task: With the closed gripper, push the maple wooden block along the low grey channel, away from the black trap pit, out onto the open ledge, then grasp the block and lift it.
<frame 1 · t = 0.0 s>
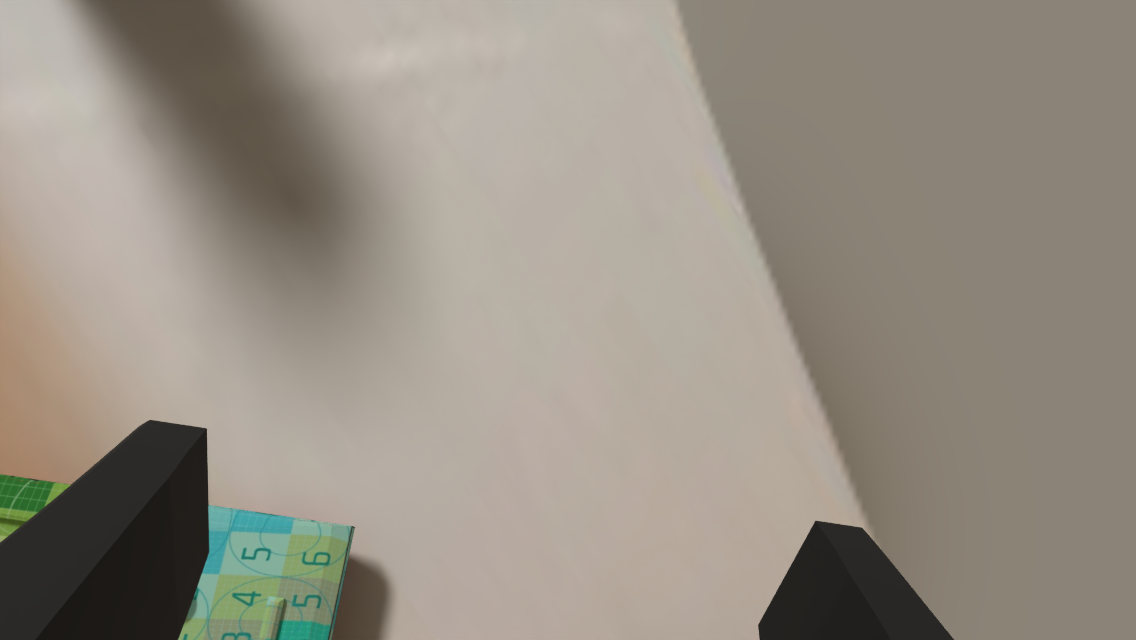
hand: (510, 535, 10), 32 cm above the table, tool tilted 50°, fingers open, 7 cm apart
puzzle game: (109, 627, 38), on the table
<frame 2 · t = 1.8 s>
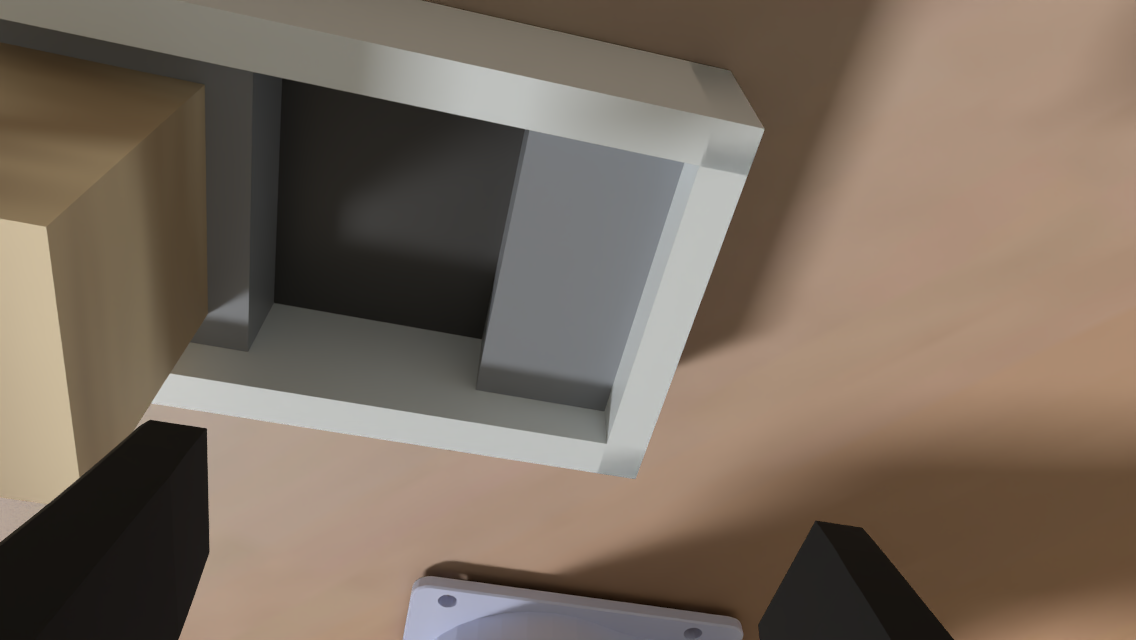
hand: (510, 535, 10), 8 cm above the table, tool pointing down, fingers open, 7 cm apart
trap channel: (121, 140, 16), on the table
maple block: (71, 183, 14), point 2 cm above the table, touching trap channel
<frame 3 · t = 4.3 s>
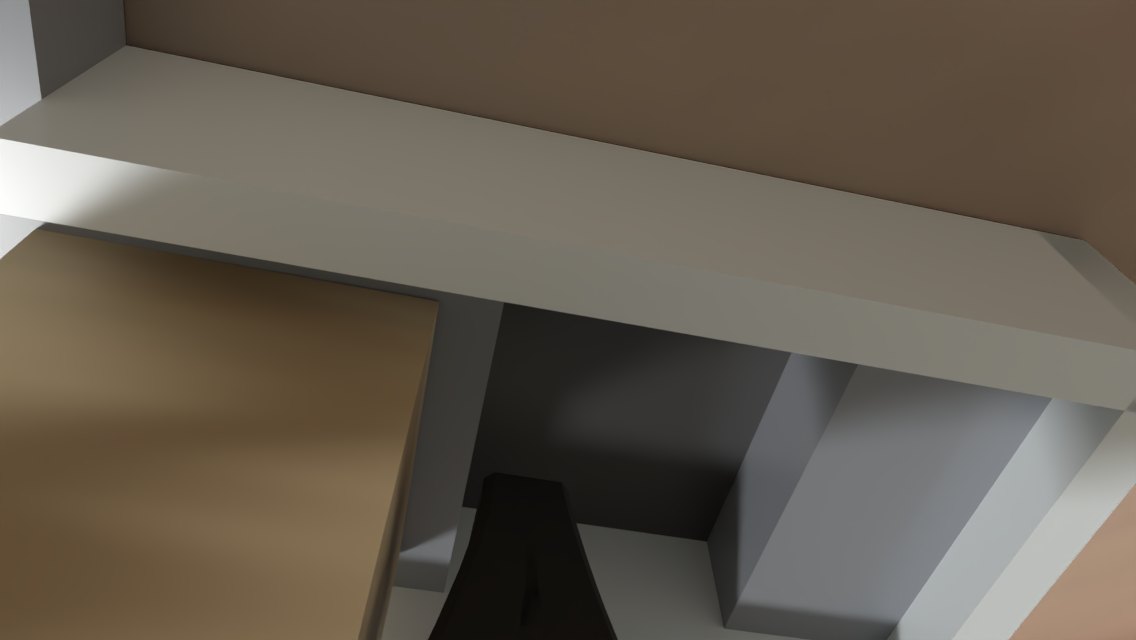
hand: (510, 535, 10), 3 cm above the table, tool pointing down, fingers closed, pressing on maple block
trap channel: (284, 327, 12), on the table
maple block: (242, 414, 11), point 2 cm above the table, touching gripper, trap channel
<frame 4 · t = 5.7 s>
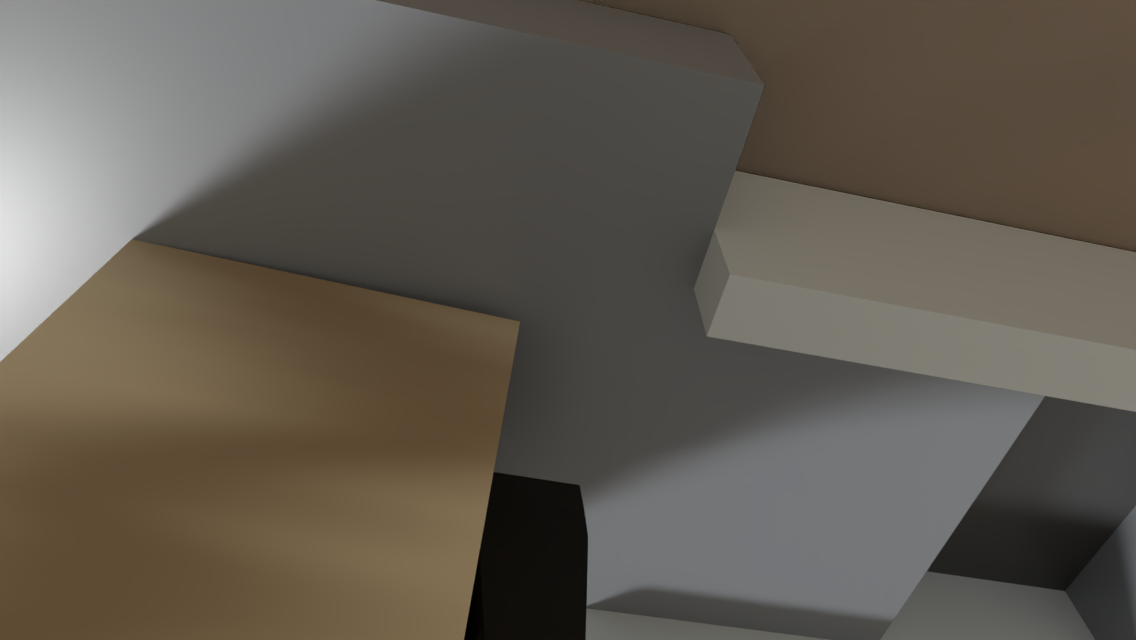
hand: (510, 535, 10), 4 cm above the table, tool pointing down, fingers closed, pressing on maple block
trap channel: (740, 401, 13), on the table
maple block: (318, 426, 11), point 2 cm above the table, touching gripper, trap channel
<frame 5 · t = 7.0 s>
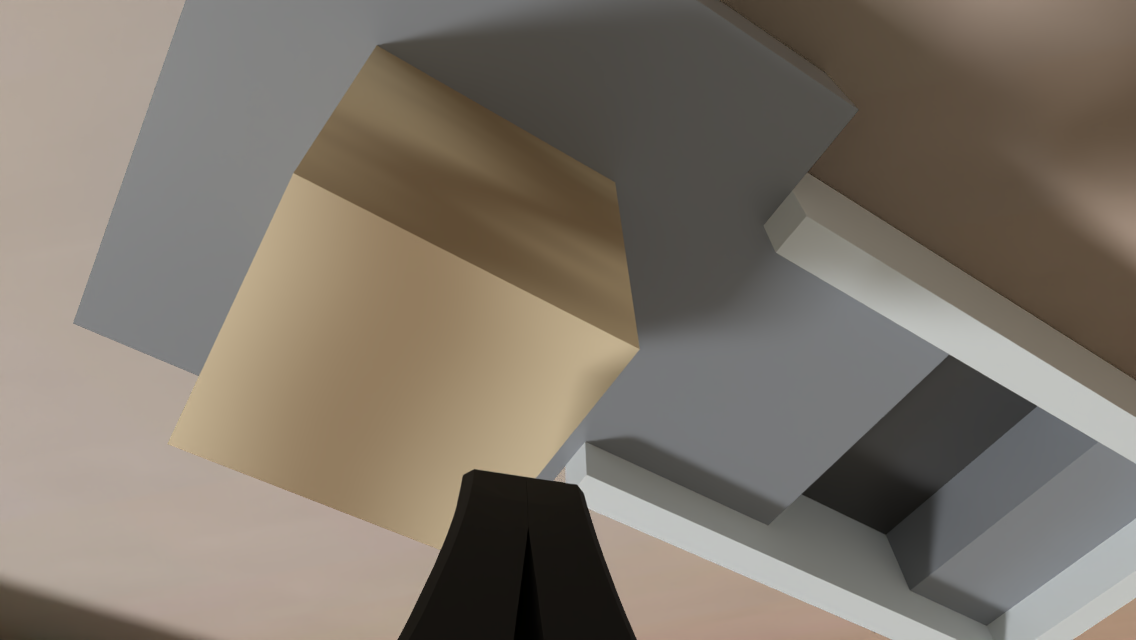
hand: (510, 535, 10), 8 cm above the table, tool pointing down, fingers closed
trap channel: (729, 329, 19), on the table
maple block: (440, 221, 15), point 2 cm above the table, touching trap channel
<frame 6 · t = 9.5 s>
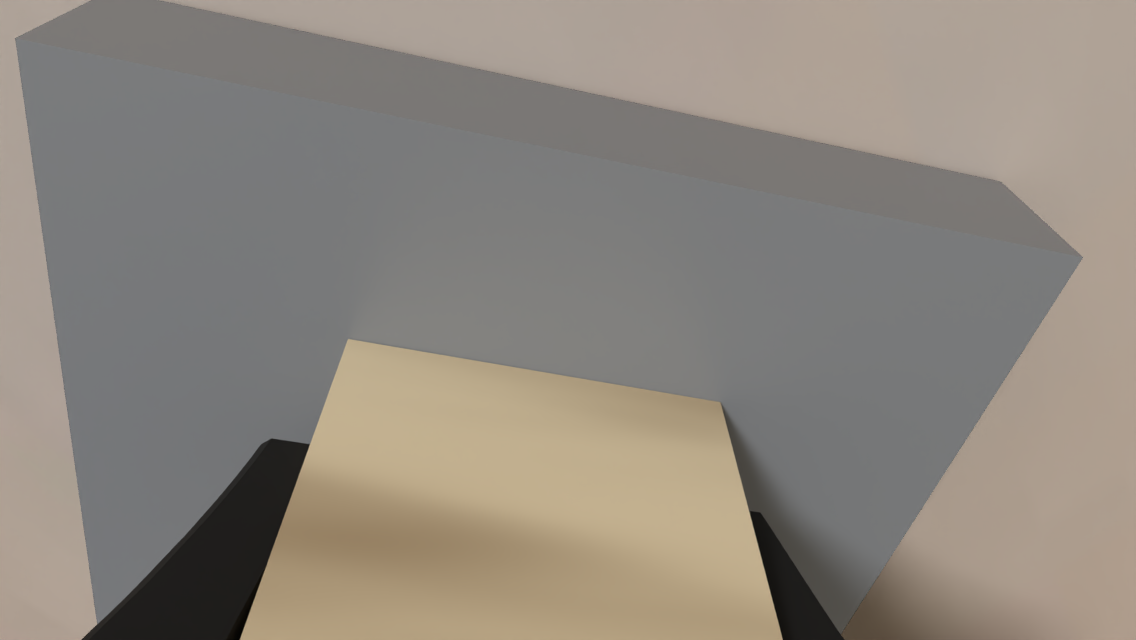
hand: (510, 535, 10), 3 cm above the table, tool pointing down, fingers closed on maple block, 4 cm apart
maple block: (505, 503, 11), point 2 cm above the table, touching gripper, trap channel
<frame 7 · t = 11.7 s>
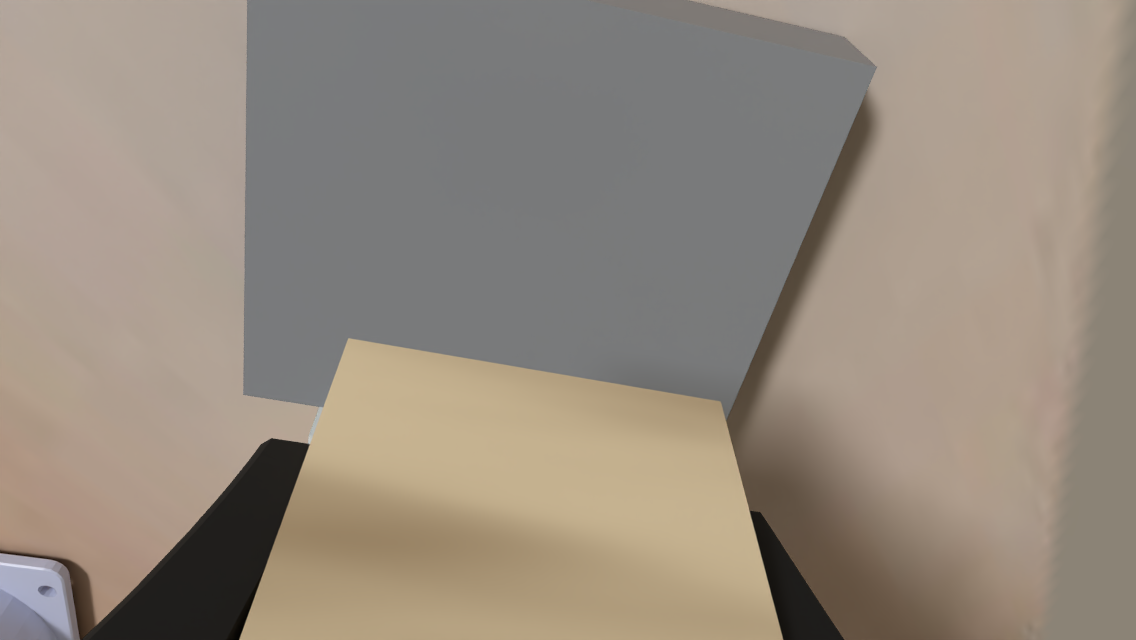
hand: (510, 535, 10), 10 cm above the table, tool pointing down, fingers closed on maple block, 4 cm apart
trap channel: (476, 438, 22), on the table
maple block: (506, 502, 11), point 9 cm above the table, touching gripper
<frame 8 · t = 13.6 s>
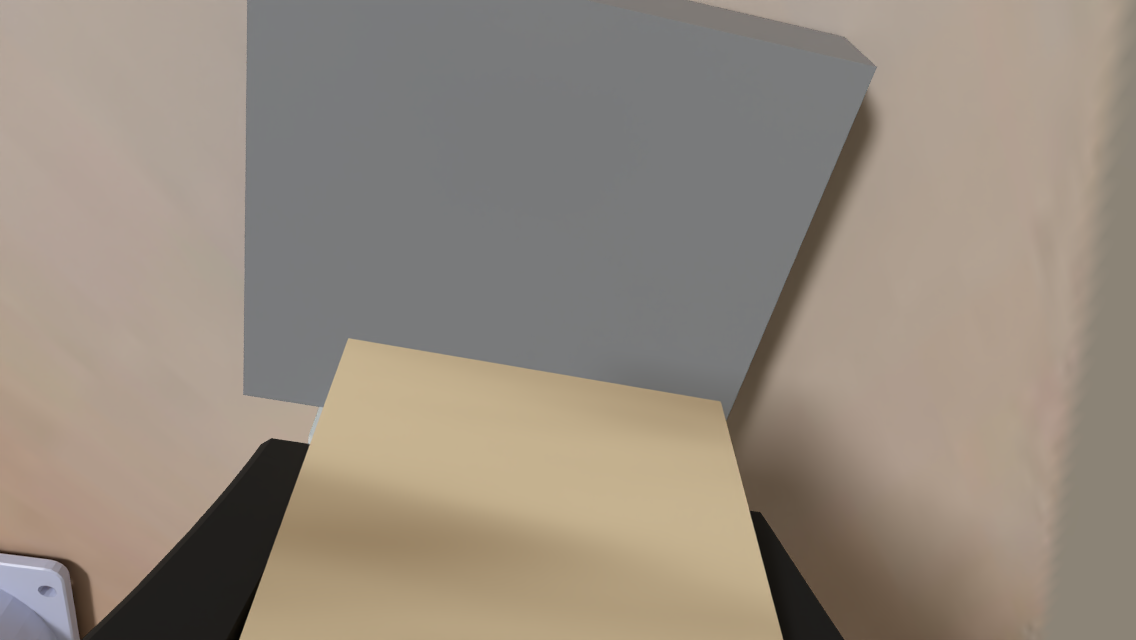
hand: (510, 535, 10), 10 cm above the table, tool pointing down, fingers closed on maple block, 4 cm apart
trap channel: (476, 438, 22), on the table
maple block: (506, 502, 11), point 9 cm above the table, touching gripper
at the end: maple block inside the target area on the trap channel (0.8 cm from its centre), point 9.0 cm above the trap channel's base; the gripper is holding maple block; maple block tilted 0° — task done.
